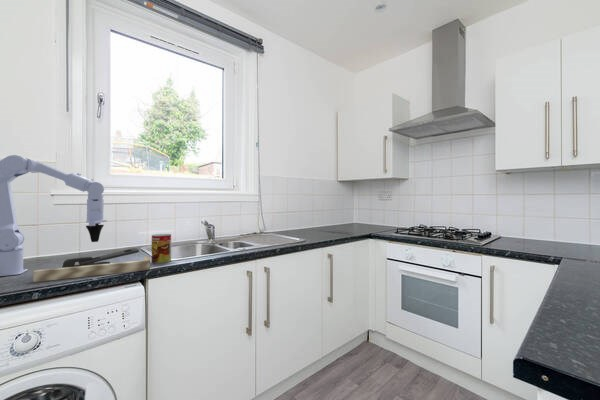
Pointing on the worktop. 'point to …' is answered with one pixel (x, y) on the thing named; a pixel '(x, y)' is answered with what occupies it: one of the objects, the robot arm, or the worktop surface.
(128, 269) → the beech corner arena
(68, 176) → the robot arm
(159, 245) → the canned food
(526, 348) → the worktop surface
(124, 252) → the dark grey elongated piece
